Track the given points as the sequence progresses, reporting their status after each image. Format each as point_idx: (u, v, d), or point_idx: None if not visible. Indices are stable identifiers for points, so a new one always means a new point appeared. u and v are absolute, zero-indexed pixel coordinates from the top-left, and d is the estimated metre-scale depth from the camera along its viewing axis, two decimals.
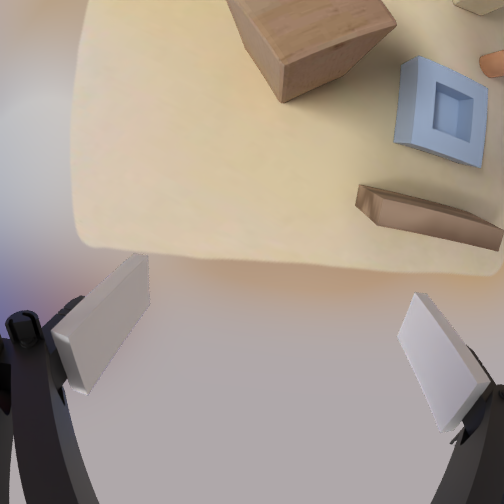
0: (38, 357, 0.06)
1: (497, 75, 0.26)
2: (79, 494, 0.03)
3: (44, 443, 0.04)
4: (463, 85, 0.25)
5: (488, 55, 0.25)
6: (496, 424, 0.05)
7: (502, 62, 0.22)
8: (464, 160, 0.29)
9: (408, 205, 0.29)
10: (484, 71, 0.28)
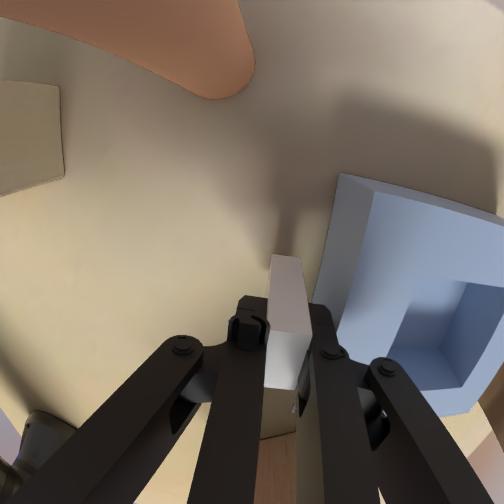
0: (256, 363, 0.08)
1: (250, 50, 0.11)
2: None
3: (239, 452, 0.05)
4: (378, 314, 0.11)
5: None
6: (328, 393, 0.07)
7: (202, 69, 0.08)
8: None
9: None
10: (243, 85, 0.13)
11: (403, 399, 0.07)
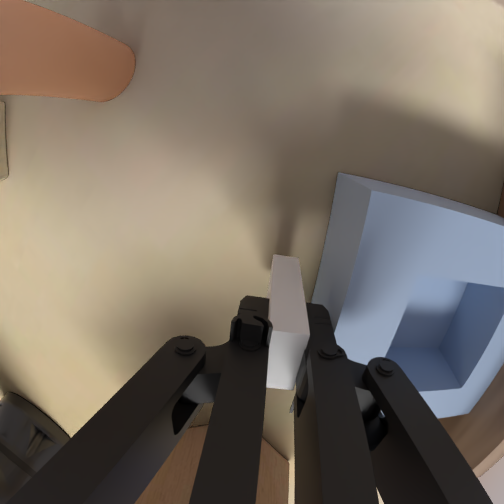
0: (258, 364, 0.08)
1: (113, 55, 0.11)
2: None
3: (241, 453, 0.05)
4: (377, 313, 0.11)
5: None
6: (326, 393, 0.07)
7: (47, 86, 0.08)
8: None
9: (481, 462, 0.10)
10: (122, 86, 0.13)
11: (401, 399, 0.07)
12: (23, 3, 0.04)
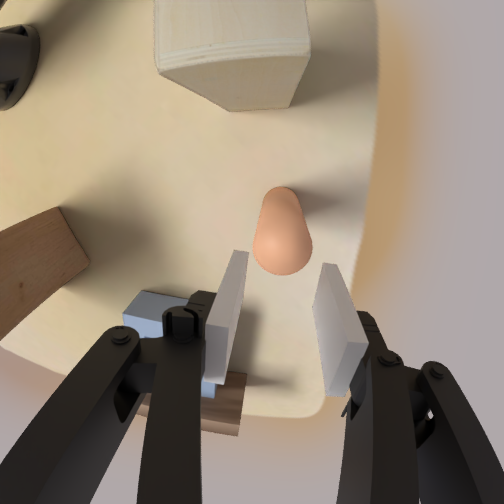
0: (192, 355, 0.08)
1: None
2: None
3: (181, 445, 0.05)
4: None
5: (265, 198, 0.30)
6: (383, 396, 0.07)
7: None
8: None
9: None
10: None
11: (449, 400, 0.06)
12: None
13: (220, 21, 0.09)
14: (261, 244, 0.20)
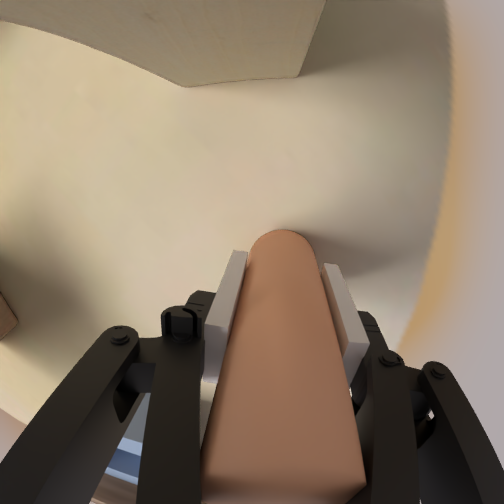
0: (191, 355, 0.08)
1: None
2: None
3: (180, 445, 0.05)
4: (127, 446, 0.18)
5: (251, 259, 0.15)
6: (384, 397, 0.07)
7: None
8: None
9: None
10: None
11: (450, 400, 0.06)
12: None
13: None
14: (215, 492, 0.05)
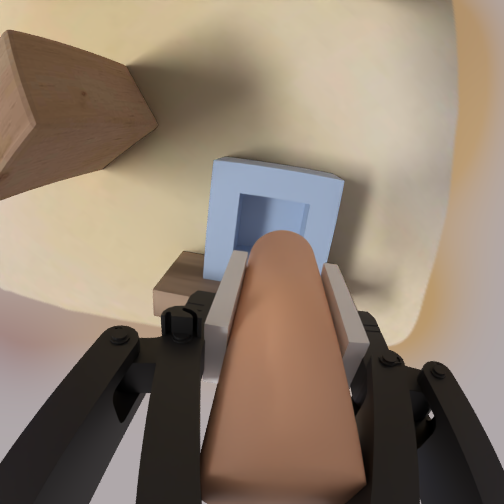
0: (191, 355, 0.08)
1: None
2: None
3: (180, 445, 0.05)
4: (292, 187, 0.26)
5: (252, 259, 0.15)
6: (384, 397, 0.07)
7: None
8: None
9: (185, 297, 0.27)
10: None
11: (450, 400, 0.06)
12: None
13: None
14: (216, 492, 0.05)
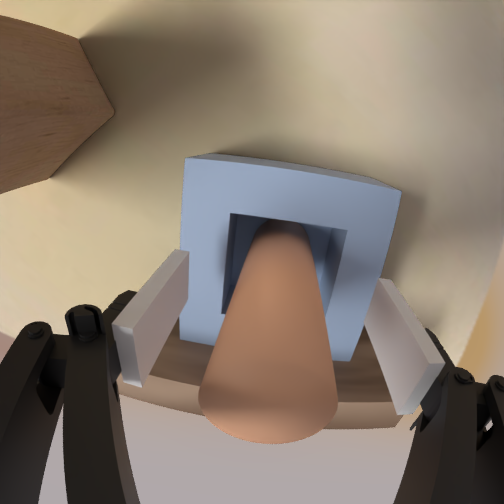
0: (97, 352, 0.07)
1: None
2: (126, 493, 0.04)
3: (96, 441, 0.04)
4: (318, 203, 0.15)
5: (254, 240, 0.18)
6: (455, 410, 0.06)
7: None
8: None
9: (150, 376, 0.16)
10: None
11: None
12: None
13: None
14: (216, 400, 0.08)
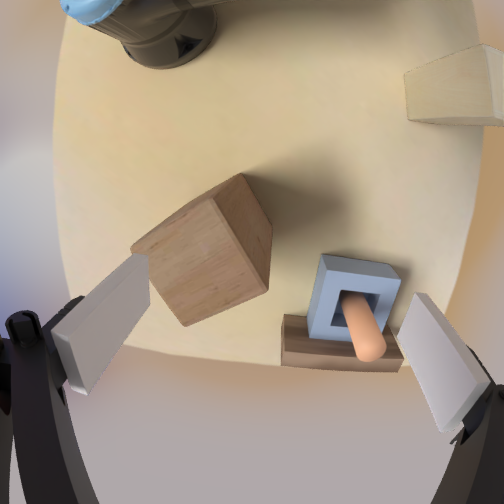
0: (38, 357, 0.06)
1: None
2: (79, 494, 0.03)
3: (44, 444, 0.04)
4: (371, 285, 0.41)
5: (344, 296, 0.43)
6: (496, 424, 0.05)
7: None
8: None
9: (305, 354, 0.41)
10: None
11: None
12: None
13: None
14: (361, 349, 0.33)
